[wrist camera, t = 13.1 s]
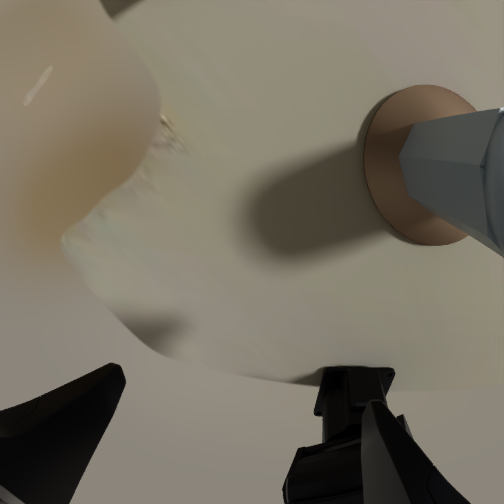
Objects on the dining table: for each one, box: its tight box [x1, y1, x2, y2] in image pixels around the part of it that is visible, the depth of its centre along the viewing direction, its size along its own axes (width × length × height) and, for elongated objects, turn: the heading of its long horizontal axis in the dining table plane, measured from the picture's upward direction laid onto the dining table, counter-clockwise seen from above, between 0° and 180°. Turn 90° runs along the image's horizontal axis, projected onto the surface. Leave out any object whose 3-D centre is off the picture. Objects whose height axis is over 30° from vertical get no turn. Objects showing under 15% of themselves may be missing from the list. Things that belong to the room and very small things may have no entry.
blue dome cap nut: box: [398, 108, 504, 258], centre depth 10 cm, size 6×6×10 cm
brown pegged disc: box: [364, 85, 477, 246], centre depth 14 cm, size 11×11×4 cm
